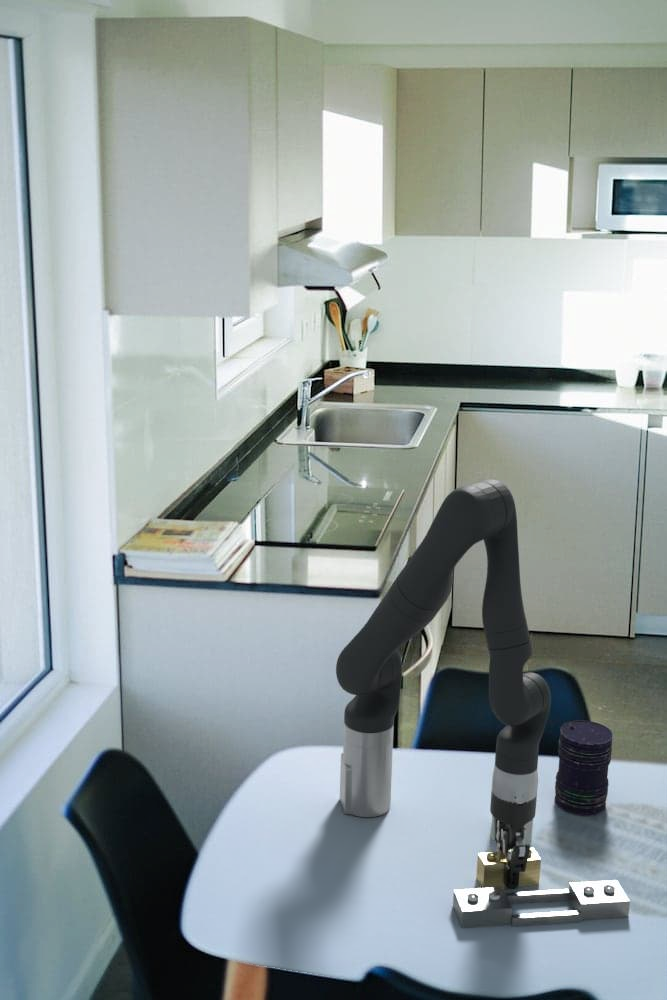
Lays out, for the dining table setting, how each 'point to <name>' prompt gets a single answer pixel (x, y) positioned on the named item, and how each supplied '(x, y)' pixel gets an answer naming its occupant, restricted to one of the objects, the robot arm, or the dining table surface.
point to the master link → (494, 869)
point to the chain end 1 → (493, 907)
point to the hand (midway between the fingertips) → (507, 878)
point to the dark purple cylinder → (583, 768)
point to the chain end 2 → (587, 901)
